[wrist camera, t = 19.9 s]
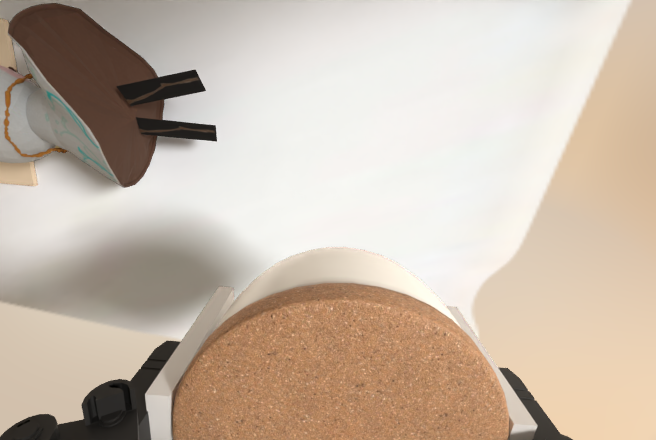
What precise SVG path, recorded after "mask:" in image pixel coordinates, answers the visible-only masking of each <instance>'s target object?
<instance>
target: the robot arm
mask: <svg viewBox="0 0 656 440" xmlns="http://www.w3.org/2000/svg"><path fill="white" fill-rule="evenodd" d="M233 302H234V288H233V287H221V286H219V287H218V288H217V290H216V291H215V293H214V294H213V296H212V297H211V299H210V300H209V302H208V303H207V304H206V306H205V307H204V309H203V310H202V312H201V313H200V315H199V316H198V318H197V319H196V321H195V322H194V323H193V325H192V326H191V328H190V329H189V331H188V332H187V334H186V335H185V337H184V338H183V339H182V341H181V342H176V341H166V342H164V343H163V344H162V345H160V346H159V347H157V348H156V349H155V350H154V351H153V353H152V354H151V355H150V356H149V358H148V360H147V361H146V362H145V363H144V364H143V365H142V367H141V369H139V371H138V372H137V373H136V375H135V376H134V377H133V378H132V380H131V381H128V380H122V379H118V380H113V381H108V382H106V383H104V384H101V385H99V386H98V387H96V388H95V389H93V390H92V391H91V392H90V393H89V394H88V395H87V396H86V397H85V399H84V401H83V403H82V409H83V415H84V419H83V420H79V421H74V422H69V423H64V424H59V425H57V421H56V419H55V417H54V416H51V415H49V414H39V415H36V416H32V417H28V418H26V419H24V420H22V421H20V422H18V423H16V424H15V425H13V426H12V427H11V428H9V429H8V430H7V431H5V432H4V433H3V434H2V436H1V437H0V440H174V439H173V434H172V410H173V406H174V401H175V396H176V392H177V390H178V387H179V385H180V383H181V380H182V378H183V376H184V374H185V372H186V370H187V368H188V366H189V365H190V363H191V361H192V360H193V358H194V357H195V355H196V354H197V352H198V351H199V350H200V348H201V347H202V345H203V344H204V343H205V341H206V340H207V338H208V337H209V336H210V335H211V334H212V333H213V331H214V329H215V328H216V326H217V325H218V323H219V322H220V320H221V319H222V317H223V316H224V314H225V313H226V312H227V310H228V309H229V307H230V306H231V305H232V303H233ZM446 307H447V308H448V310H449V311H450V312H451V314H452V315H453V317H454V318H455V319H456V321H457V322H458V324H459V325H460V326H461V328H462V329H463V330H464V331H465V332H466V333H467V334H468V335H469V336H470V337H471V339H472V340H473V341H474V343H475V344H476V345H477V347H478V348H479V350H480V351H481V352H482V354H483V355H484V357H485V358H486V359H487V361H488V362H489V364H490V365H491V367H492V368H493V370H494V372H495V373H496V375H497V378H498V380H499V382H500V384H501V387H502V389H503V391H504V393H505V398H506V403H507V408H508V412H509V435H508V440H572V439H571V438H569V437H567V436H564V435H562V434H560V433H559V432H558V430H557V429H556V427H555V426H554V424H553V423H552V422H551V420H550V419H549V418H548V416H547V415H546V414H545V412H544V411H543V410H542V408H541V407H540V406H539V404H538V403H537V401H535V400H534V397H533V396H532V395H531V393H530V392H529V391H528V390H527V388H526V387H525V385H524V384H523V382H522V381H521V380H520V378H519V377H517V376H516V375H515V374H514V373H513V372H511V371H510V370H509V369H508V368H498V367H497V366H496V364H495V362H494V361H493V359H492V358H491V357H490V355H489V354H488V352H487V351H486V349H485V348H484V346H483V345H482V343H481V342H480V340H479V339H478V337H477V336H476V335H475V333H474V332H473V330H472V329H471V327H470V326H469V324H468V323H467V321H466V320H465V318H464V317H463V315H462V314H461V312H460V311H459V310H458V308H457V307H451V306H446Z"/></svg>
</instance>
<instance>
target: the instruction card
mask: <svg viewBox="0 0 656 440" xmlns="http://www.w3.org/2000/svg"><path fill="white" fill-rule="evenodd" d="M8 27H9V22H8V20H5V19H0V65H1V66H4V67H6V68H8V67H12V68H14V69H15V70H17V67H16V61H15V56H14V50H13V45H12V39H11V37H10V36H9V35H8ZM17 73H18V72H17ZM0 183H6V184H17V185H28V186H36V185H38V183H37V178H36V172H35V167H34V161H32V162H27V163H5V162H0Z"/></svg>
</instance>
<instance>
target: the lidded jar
mask: <svg viewBox="0 0 656 440" xmlns="http://www.w3.org/2000/svg"><path fill="white" fill-rule="evenodd" d="M172 434H173V439H174V440H508V435H509V412H508V408H507V403H506V398H505V393H504V391H503V389H502V387H501V384H500V382H499V380H498V378H497V375H496V373H495V372H494V370H493V368H492V367H491V365H490V364H489V362H488V361H487V359H486V358H485V357H484V355H483V354H482V352H481V351H480V350H479V348H478V347H477V345H476V344H475V343H474V341H473V340H472V339H471V337H470V336H469V335H468V334H467V333H466V332H465V331H464V330H463V329H462V328H461V326H460V325H459V324H458V322H457V321H456V319H455V318H454V317H453V315H452V314H451V312H450V311H449V310H448V308H447V307H446V305H445V304H444V303H443V302H442V301H441V300H440V298H439V297H438V296H437V295H436V294H435V293H434V292H433V291H432V290H431V289H430V288H429V287H428V286H427V285H426V284H425V283H424V282H423V281H422V280H421V279H419V278H418V277H417V276H415V275H414V274H413V273H411V272H410V271H408V270H407V269H406V268H404V267H403V266H401V265H400V264H398V263H397V262H395V261H392V260H390V259H388V258H386V257H384V256H382V255H379V254H376V253H372V252H369V251H365V250H361V249H355V248H348V247H326V248H319V249H313V250H309V251H306V252H302V253H299V254H296V255H293V256H291V257H288V258H286V259H284V260H282V261H280V262H278V263H276V264H275V265H273V266H272V267H271V268H269V269H268V270H266V271H265V272H263V273H262V274H261V275H260V276H259V277H257V278H256V279H255V280H254V281H253V282H252V283H251V284H250V285H249V286H248V287H247V288H246V289H245V290H244V291H243V292H242V293H241V294H240V295H239V296H238V297H237V299H236V300H235V301H234V302H233V303H232V305H231V306H230V307H229V309H228V310H227V312H226V313H225V314H224V316H223V317H222V319H221V320H220V322H219V323H218V325H217V326H216V328H215V329H214V331H213V333H212V334H211V335H210V336H209V337H208V338H207V340H206V341H205V343H204V344H203V345H202V347H201V348H200V350H199V351H198V352H197V354H196V355H195V357H194V358H193V360H192V361H191V363H190V365H189V366H188V368H187V370H186V372H185V374H184V376H183V378H182V380H181V383H180V385H179V387H178V390H177V392H176V396H175V401H174V406H173V410H172Z"/></svg>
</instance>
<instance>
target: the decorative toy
mask: <svg viewBox="0 0 656 440" xmlns="http://www.w3.org/2000/svg"><path fill="white" fill-rule="evenodd" d="M8 35H9V36H10V37H11V38H12V39H13V40H14V41H15V42H16V44H17V45H18V46H19V47H20V48H21V49H22V52H23V55H24V58H25V61H26V64H27V67H28V70H29V72H30V73H31V74H27V75H26V76H25V77H24V76H22V75H21V74H19V73H17V70H15V69H14V68H12V67H8V68H6V67H4V66H1V65H0V162H5V163H27V162H32V161H35V160H37V159H40V158H42V157H45V156H47V155H48V154H50V153H51V152H52V151H54V150H55V151H57V152H59V153H60V152H63V153H65V152H67V151H69V152H71V153H72V154H73V155H75V156H76V157H77V158H79V159H80V160H82V161H83V162H85V163H86V164H88V165H89V166H91V167H92V168H94V169H95V170H97V171H98V172H100V173H101V174H103V175H104V176H106V177H107V178H109V179H110V180H112V181H114V182H115V183H117V184H119V185H120V186H122V187H124V188H125V187H130V186H132V185H135V184H136V183H137V182H138V181H139V180H140V179H141V178H142V177H143V176H144V174H145V172H146V170H147V169H148V167H149V165H150V162H151V159H152V156H153V153H154V151H155V146H156V140H157V136H165V137H176V138H186V139H197V140H208V141H217V137H216V126H215V125H205V124H196V123H186V122H177V121H167V120H162V118H163V109H164V99H168V98H173V97H178V96H183V95H188V94H193V93H198V92H203V91H206V90H205V88H204V86H203V84H202V82H201V80H200V78H199V76H198V74H197V72H196V70H191V71H187V72H182V73H177V74H172V75H167V76H163V77H158V76H157V74H156V72H155V71H154V69H153V68H152V67H151V66H150V65H149V64H148V63H147V62H146V61H145V60H144V58H142V57H141V56H140V55H138V54H137V53H136V52H134V51H133V50H132V49H130V48H129V47H128V46H126V45H125V44H124V43H122V42H121V41H119V40H118V39H117V38H115V37H114V36H113V35H111V34H110V33H109V32H107V31H106V30H105V29H103V28H102V27H101V26H100V25H99V24H97V23H96V22H95V21H94V20H93V19H91V18H90V17H89V16H88V15H87V14H85V13H84V12H83V11H82V10H81V9H79V8H74V7H70V6H66V5H62V4H58V3H48V4H40V5H36V6H31V7H29V8H27V9H24V10H22V11H20V12H19V13H18V14H17V15H15V16H14V17H13V19H12V20H11V22H10V23H9V27H8ZM33 77H34V79H35V80H36V82H37V83H38V85H39V86H40V88H41V89H40V88H39V87H38V86H37V85H36V84H34V83H33V82H31V81H30V80H29V79H32V78H33Z"/></svg>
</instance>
